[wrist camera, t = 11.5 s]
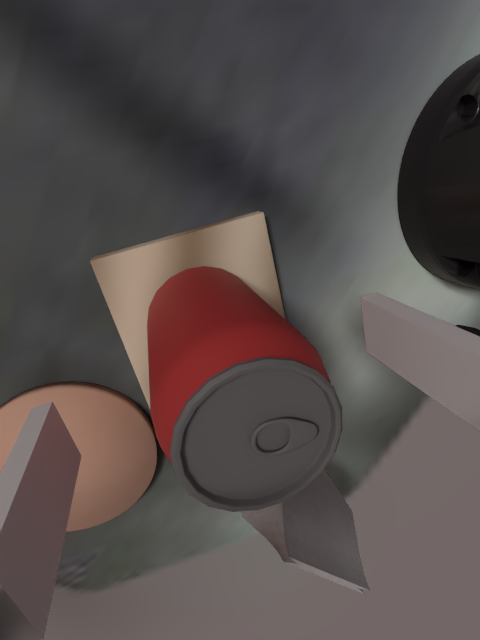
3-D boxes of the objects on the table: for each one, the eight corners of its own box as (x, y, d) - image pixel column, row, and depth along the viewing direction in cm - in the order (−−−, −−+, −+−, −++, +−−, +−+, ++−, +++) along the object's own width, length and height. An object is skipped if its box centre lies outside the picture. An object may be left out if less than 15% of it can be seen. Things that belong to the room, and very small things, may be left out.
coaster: (124, 358, 23) (123, 365, 22) (176, 483, 27) (177, 494, 26) (-61, 418, 21) (-70, 428, 20) (24, 542, 26) (20, 555, 25)
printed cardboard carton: (253, 416, 27) (310, 531, 18) (313, 452, 30) (390, 569, 20) (222, 452, 27) (263, 584, 18) (284, 485, 30) (347, 614, 21)
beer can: (252, 362, 24) (345, 506, 13) (149, 370, 22) (157, 544, 11) (256, 262, 22) (373, 336, 11) (143, 264, 20) (145, 353, 9)
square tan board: (257, 211, 22) (263, 212, 21) (287, 353, 26) (293, 360, 25) (92, 257, 21) (89, 260, 19) (150, 400, 24) (150, 410, 23)
